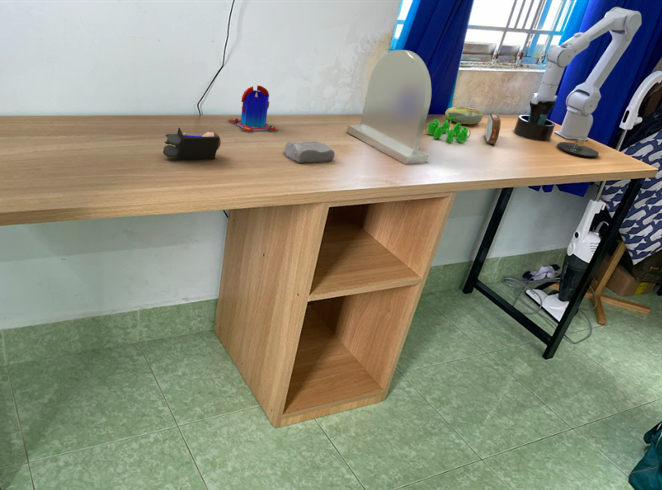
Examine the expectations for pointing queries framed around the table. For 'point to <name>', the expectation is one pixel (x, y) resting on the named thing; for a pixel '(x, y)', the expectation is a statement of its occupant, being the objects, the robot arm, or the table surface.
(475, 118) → the cell model
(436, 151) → the table surface
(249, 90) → the fantasy tower
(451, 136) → the green bumpy cluster
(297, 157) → the stone block
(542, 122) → the block
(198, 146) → the character figurine
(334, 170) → the table surface
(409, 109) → the award
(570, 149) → the lid
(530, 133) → the black round container
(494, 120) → the tin
